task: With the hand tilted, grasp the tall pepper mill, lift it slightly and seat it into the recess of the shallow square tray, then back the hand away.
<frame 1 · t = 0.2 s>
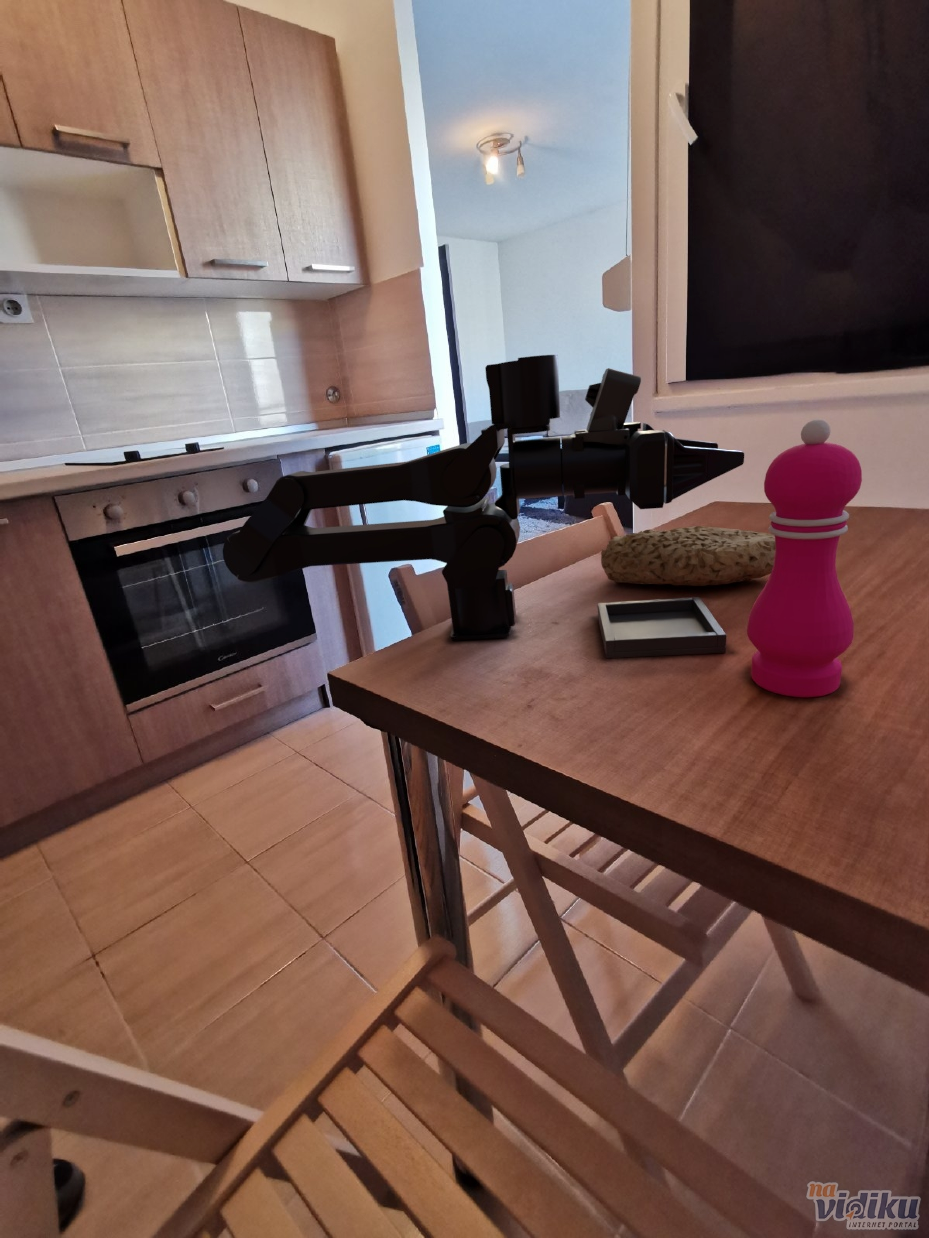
hand: (729, 452, 55), 17 cm above the table, tool horizontal, fingers open, 9 cm apart
pepper mill: (793, 681, 47), on the table
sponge: (693, 583, 73), on the table
shallow square tray: (655, 633, 59), on the table
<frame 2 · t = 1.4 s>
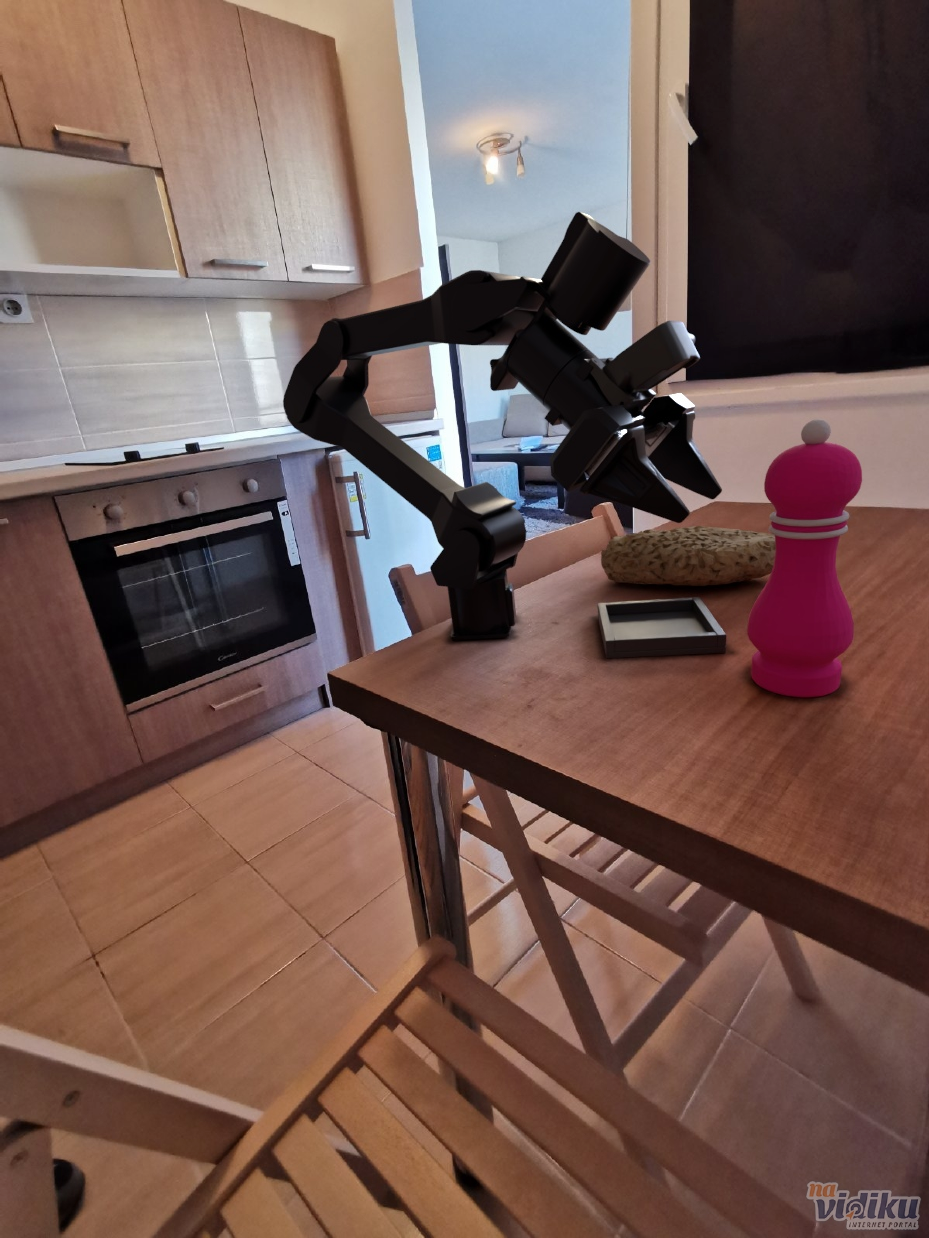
hand: (702, 506, 47), 14 cm above the table, tool tilted 45°, fingers open, 9 cm apart
nothing on the table moved.
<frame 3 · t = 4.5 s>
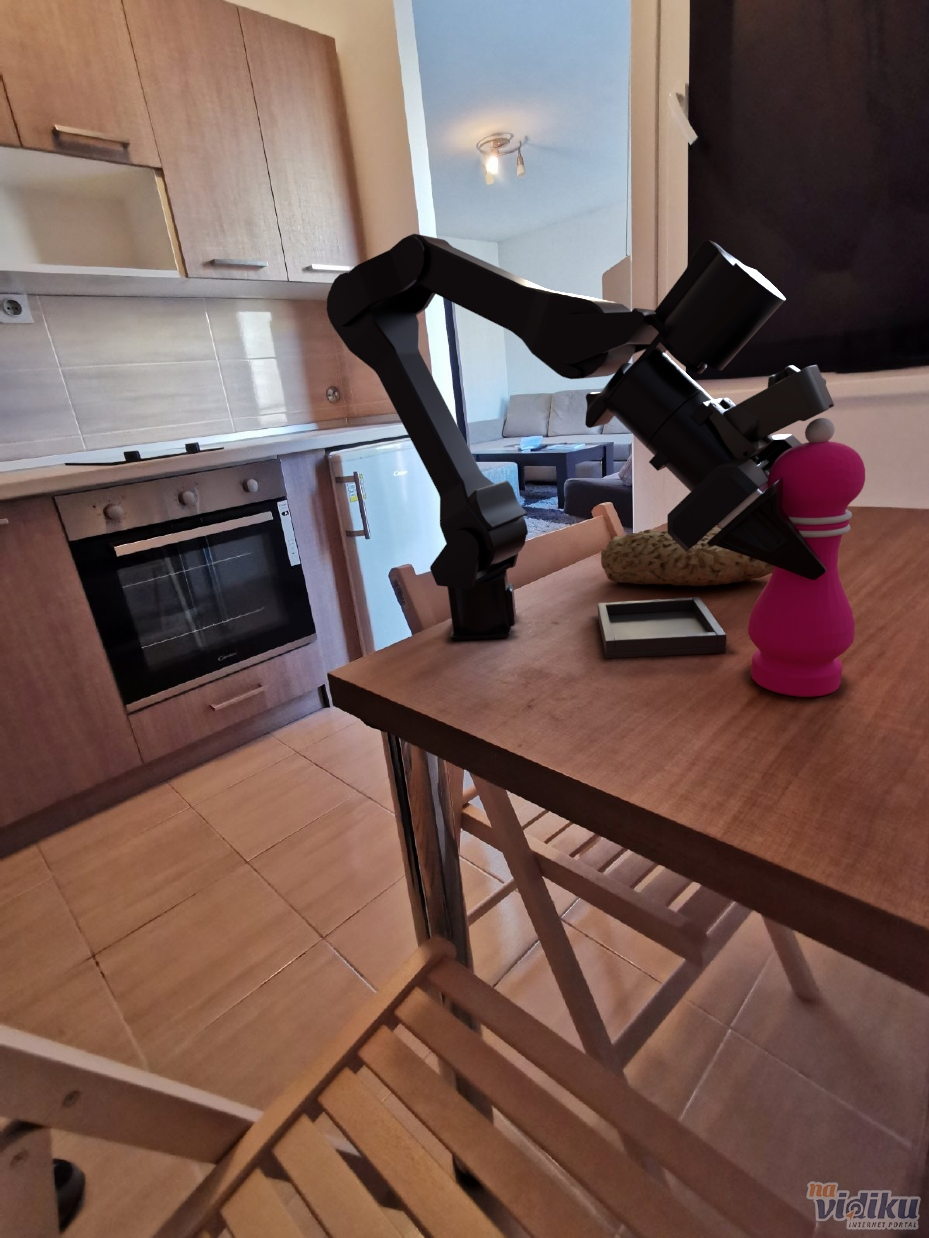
hand: (825, 566, 43), 10 cm above the table, tool tilted 45°, fingers closed on pepper mill, 5 cm apart
pepper mill: (793, 681, 47), on the table, touching gripper
everything else where it was.
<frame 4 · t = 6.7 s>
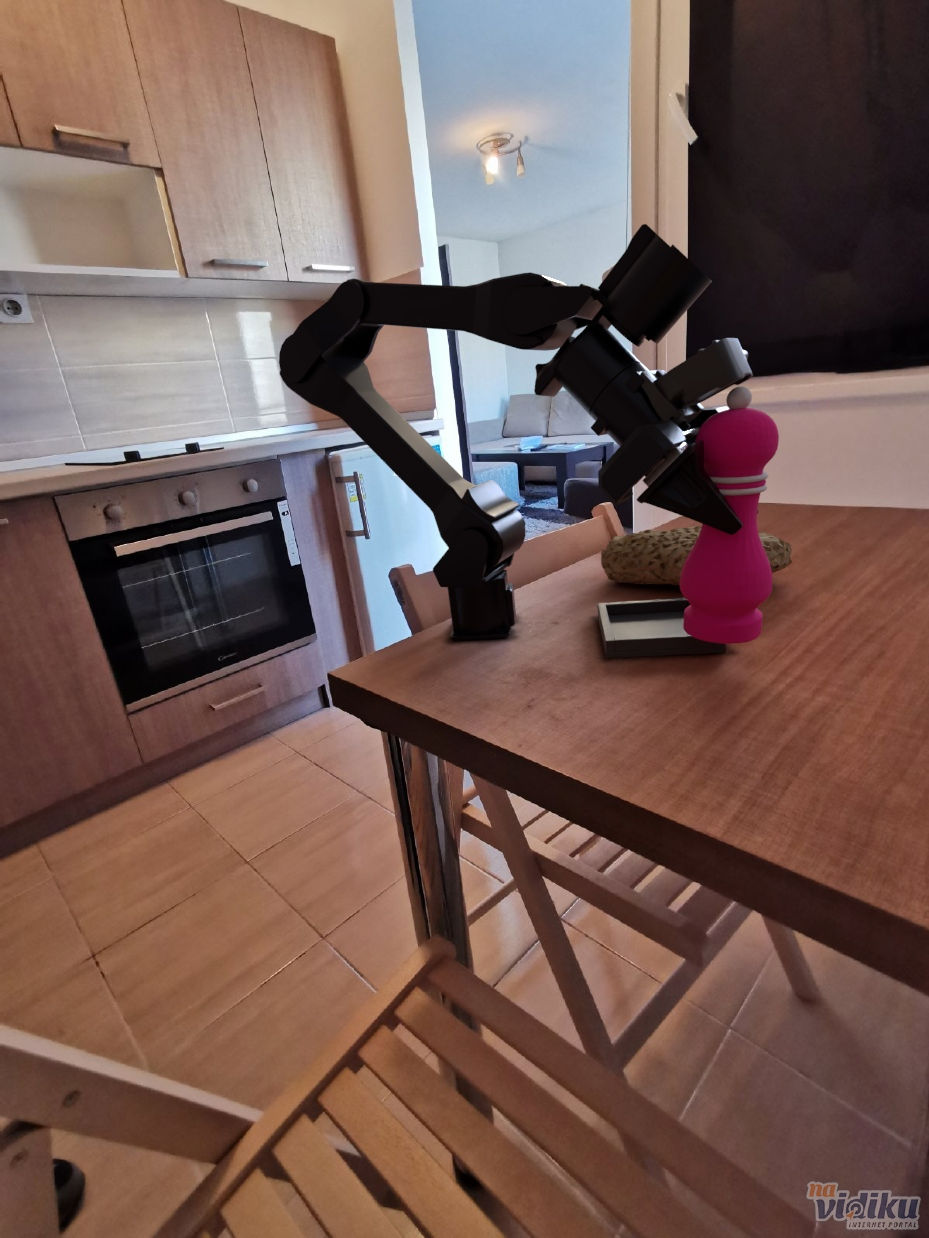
hand: (746, 523, 48), 12 cm above the table, tool tilted 45°, fingers closed on pepper mill, 4 cm apart
pepper mill: (721, 632, 52), point 2 cm above the table, touching gripper
everything else where it was.
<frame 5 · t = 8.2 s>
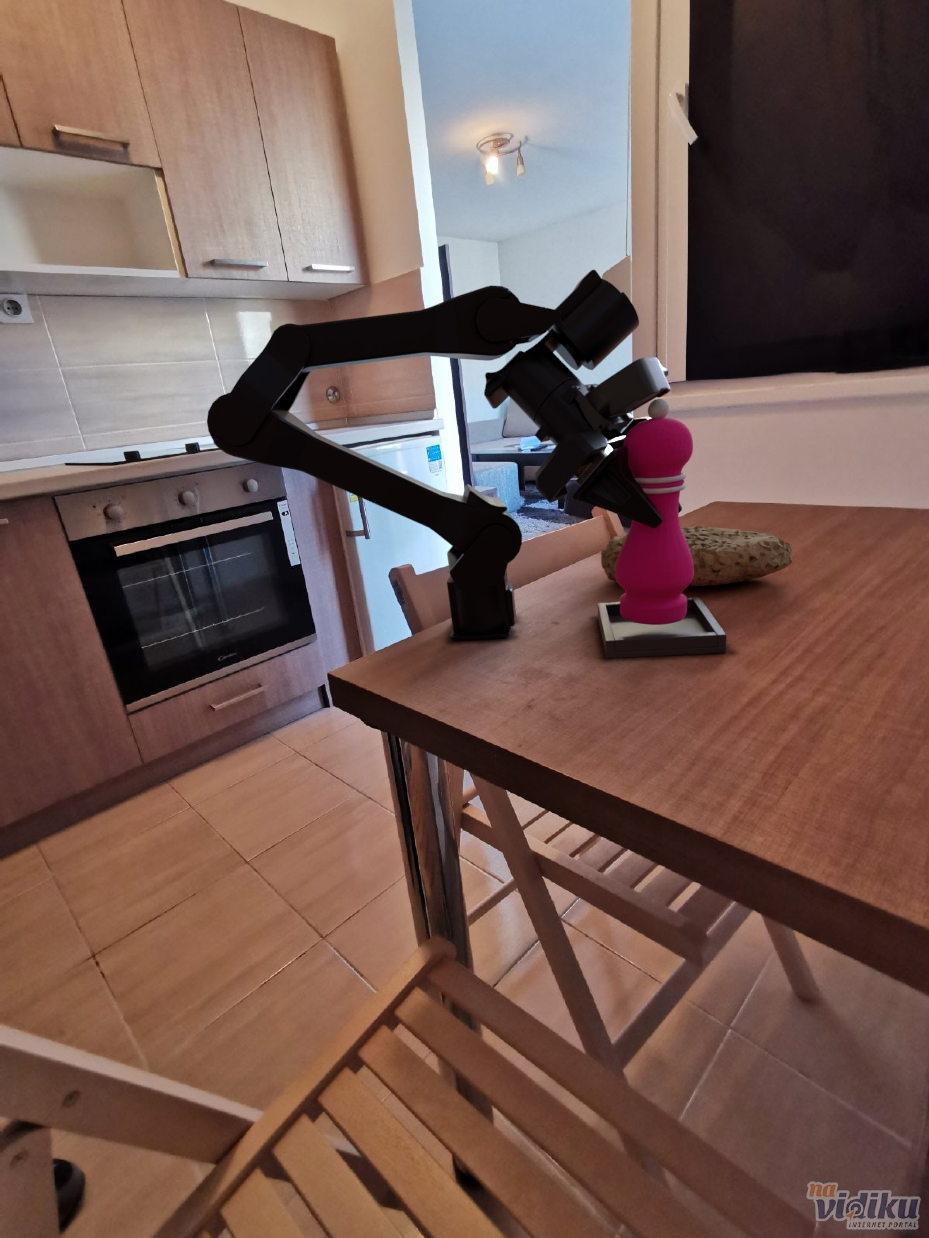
hand: (669, 518, 54), 12 cm above the table, tool tilted 45°, fingers closed on pepper mill, 4 cm apart
pepper mill: (652, 616, 58), point 2 cm above the table, touching gripper
everything else where it was.
when the fingers open (10 cm above the table, at t = 9.2 s): pepper mill stays where it is, resting on shallow square tray.
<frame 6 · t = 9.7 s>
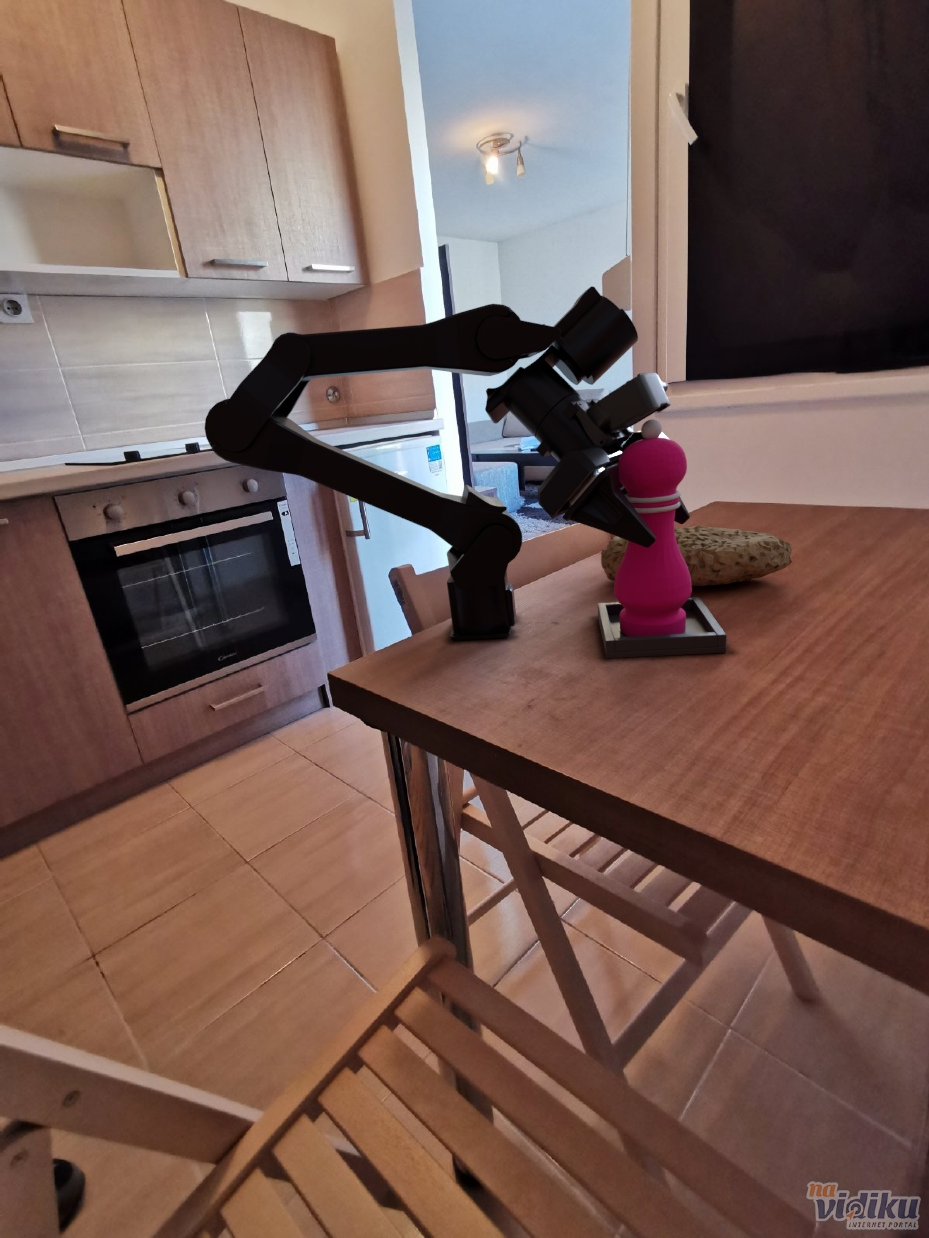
hand: (670, 531, 55), 10 cm above the table, tool tilted 45°, fingers open, 9 cm apart
pepper mill: (652, 631, 59), resting on shallow square tray
everything else where it was.
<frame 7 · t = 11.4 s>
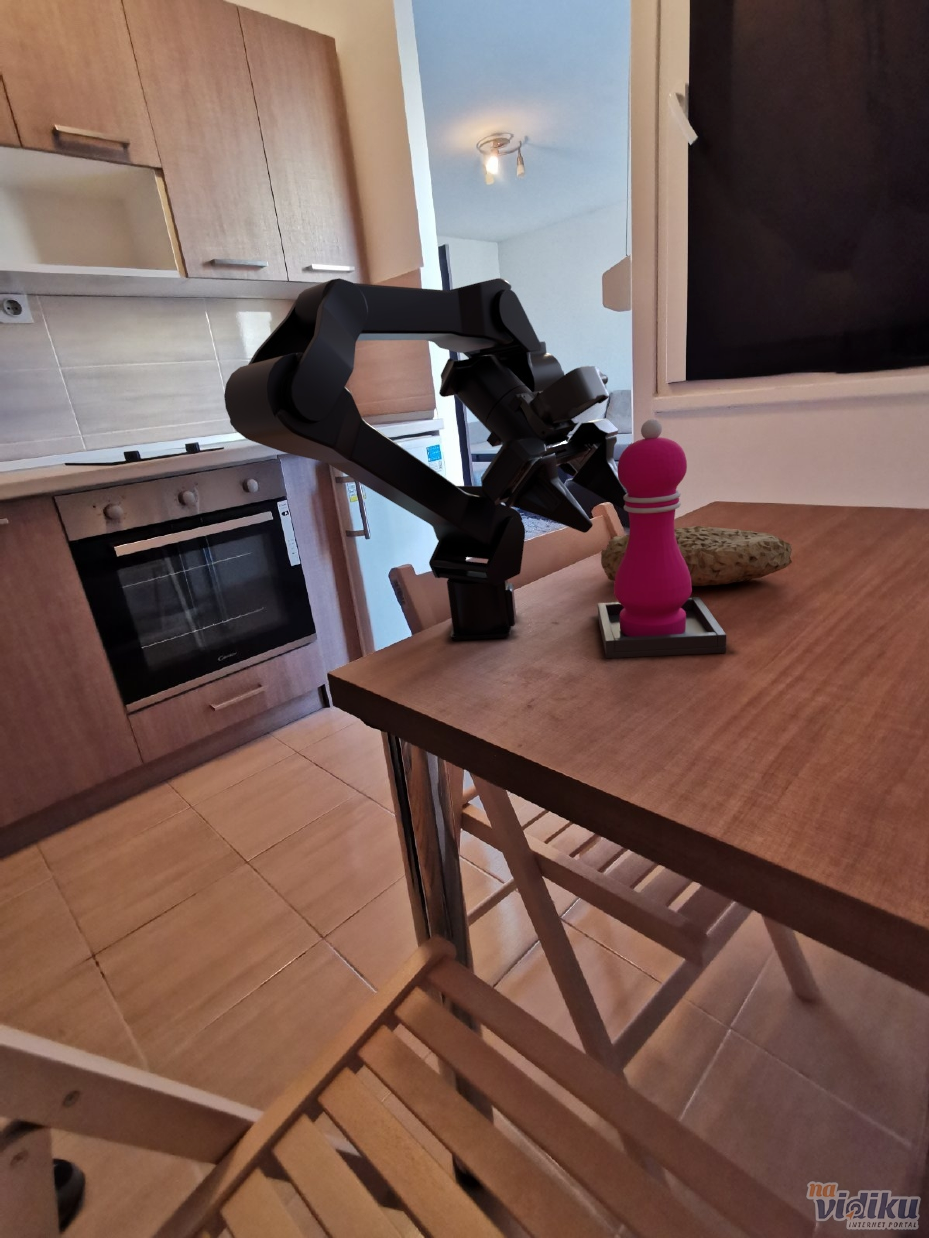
hand: (611, 517, 57), 12 cm above the table, tool tilted 45°, fingers open, 9 cm apart
nothing on the table moved.
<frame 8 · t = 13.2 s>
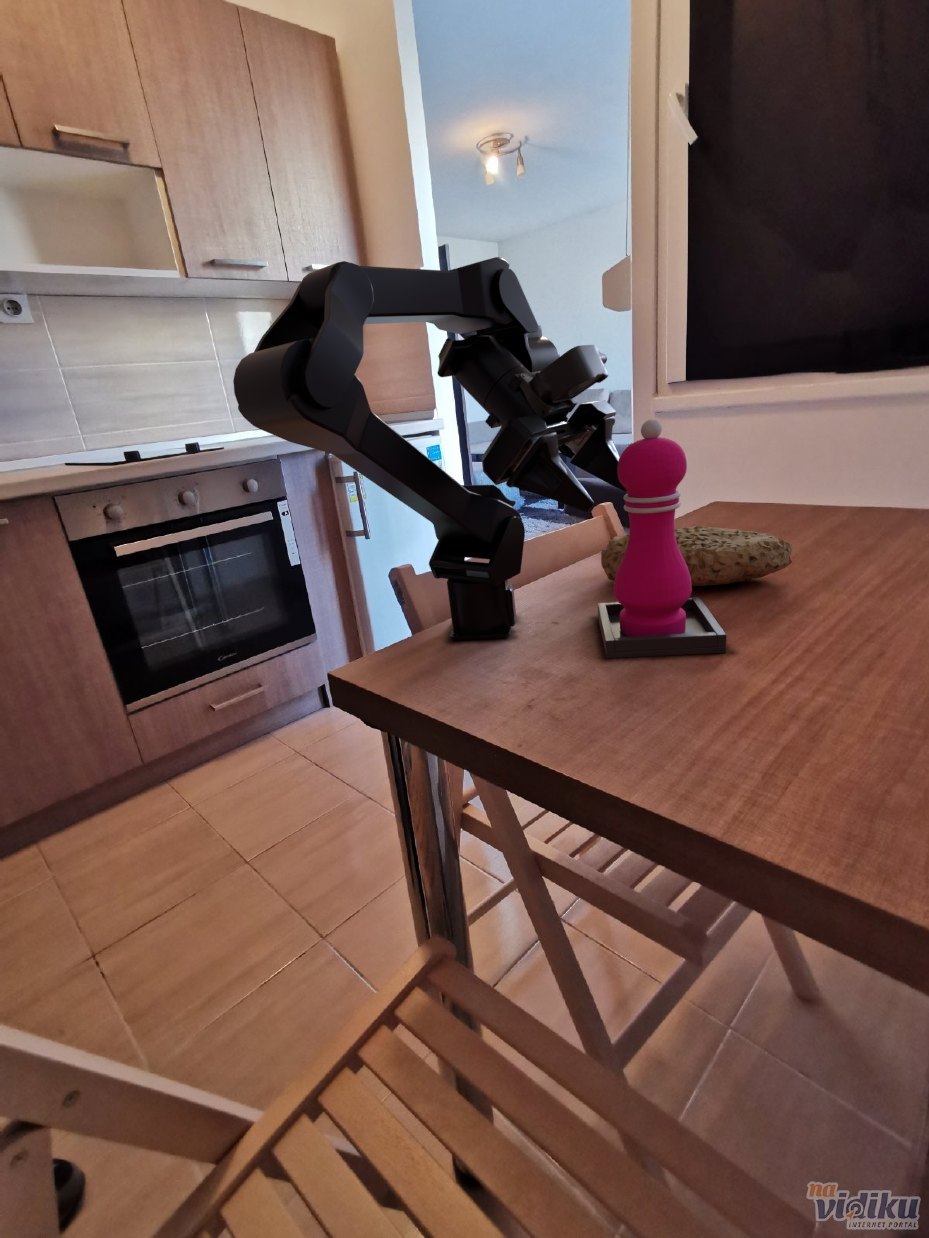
hand: (611, 497, 57), 14 cm above the table, tool tilted 45°, fingers open, 9 cm apart
nothing on the table moved.
at the end: pepper mill 0.4 cm off-centre in the shallow square tray, point 0.4 cm above the shallow square tray's base; pepper mill tilted 0° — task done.
